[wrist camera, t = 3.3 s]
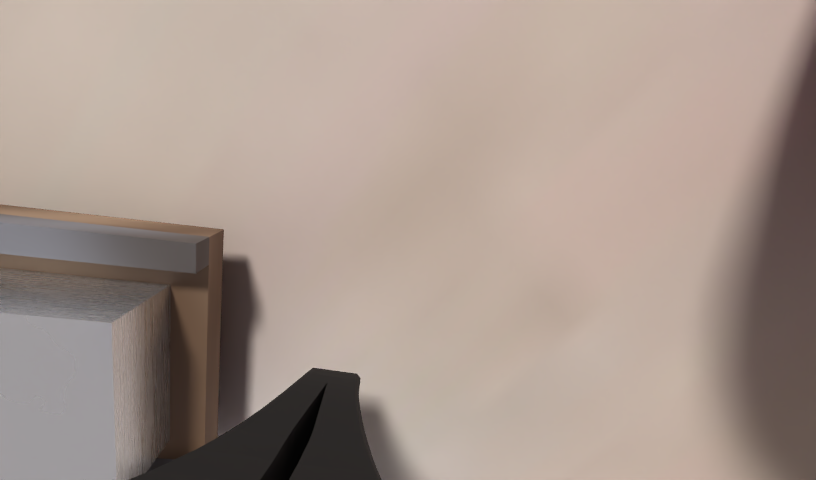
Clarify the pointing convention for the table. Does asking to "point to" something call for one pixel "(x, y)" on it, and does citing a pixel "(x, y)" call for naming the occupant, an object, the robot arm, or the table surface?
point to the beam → (142, 262)
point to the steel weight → (82, 376)
